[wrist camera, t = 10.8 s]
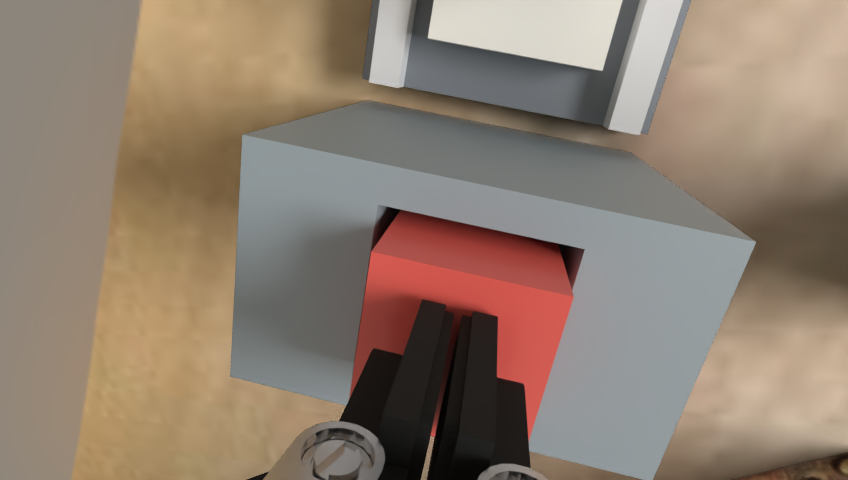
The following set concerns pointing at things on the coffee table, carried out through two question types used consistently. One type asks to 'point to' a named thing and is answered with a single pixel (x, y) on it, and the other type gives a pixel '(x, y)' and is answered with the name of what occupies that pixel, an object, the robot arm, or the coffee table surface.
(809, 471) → the book
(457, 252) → the button
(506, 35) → the carriage
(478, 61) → the rail bed
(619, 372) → the button cabinet
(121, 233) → the coffee table surface
